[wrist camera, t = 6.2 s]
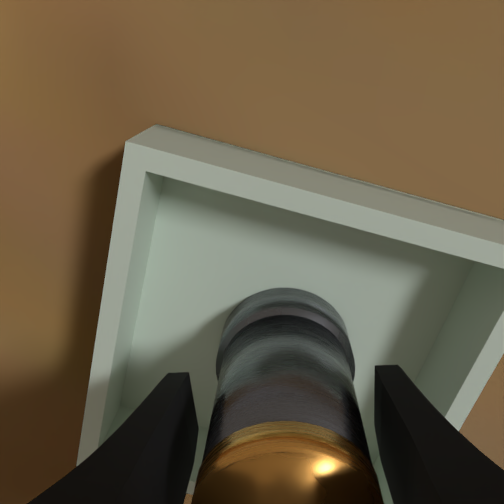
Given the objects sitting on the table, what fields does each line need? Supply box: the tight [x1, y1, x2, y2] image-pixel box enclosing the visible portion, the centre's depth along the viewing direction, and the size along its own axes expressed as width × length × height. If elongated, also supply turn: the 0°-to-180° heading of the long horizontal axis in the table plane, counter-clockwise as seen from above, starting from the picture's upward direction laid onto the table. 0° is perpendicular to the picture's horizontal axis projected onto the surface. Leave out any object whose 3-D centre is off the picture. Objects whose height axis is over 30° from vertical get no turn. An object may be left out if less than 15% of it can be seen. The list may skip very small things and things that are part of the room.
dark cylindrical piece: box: [191, 288, 384, 504], centre depth 13 cm, size 4×4×7 cm
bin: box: [76, 124, 504, 504], centre depth 15 cm, size 11×11×3 cm
